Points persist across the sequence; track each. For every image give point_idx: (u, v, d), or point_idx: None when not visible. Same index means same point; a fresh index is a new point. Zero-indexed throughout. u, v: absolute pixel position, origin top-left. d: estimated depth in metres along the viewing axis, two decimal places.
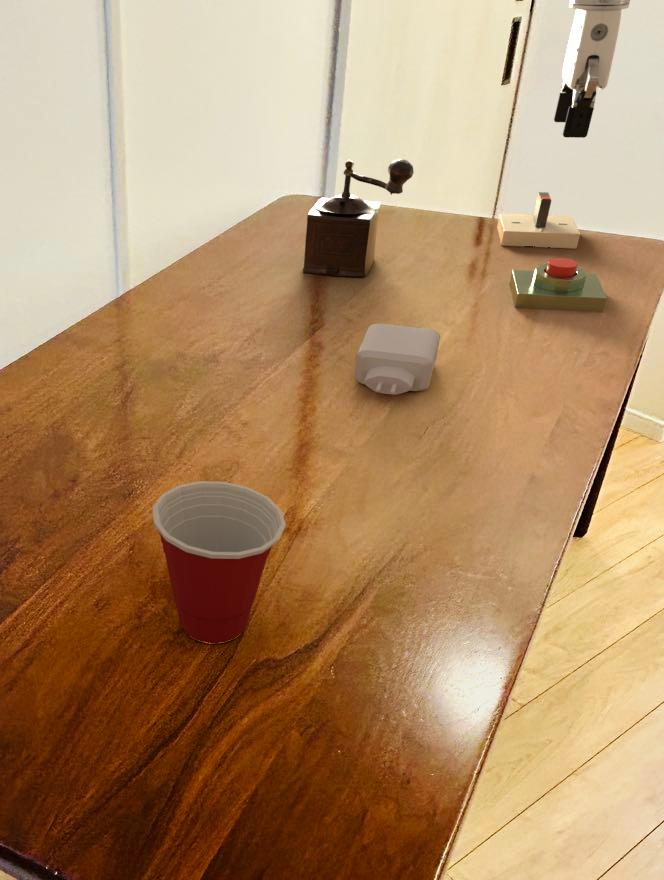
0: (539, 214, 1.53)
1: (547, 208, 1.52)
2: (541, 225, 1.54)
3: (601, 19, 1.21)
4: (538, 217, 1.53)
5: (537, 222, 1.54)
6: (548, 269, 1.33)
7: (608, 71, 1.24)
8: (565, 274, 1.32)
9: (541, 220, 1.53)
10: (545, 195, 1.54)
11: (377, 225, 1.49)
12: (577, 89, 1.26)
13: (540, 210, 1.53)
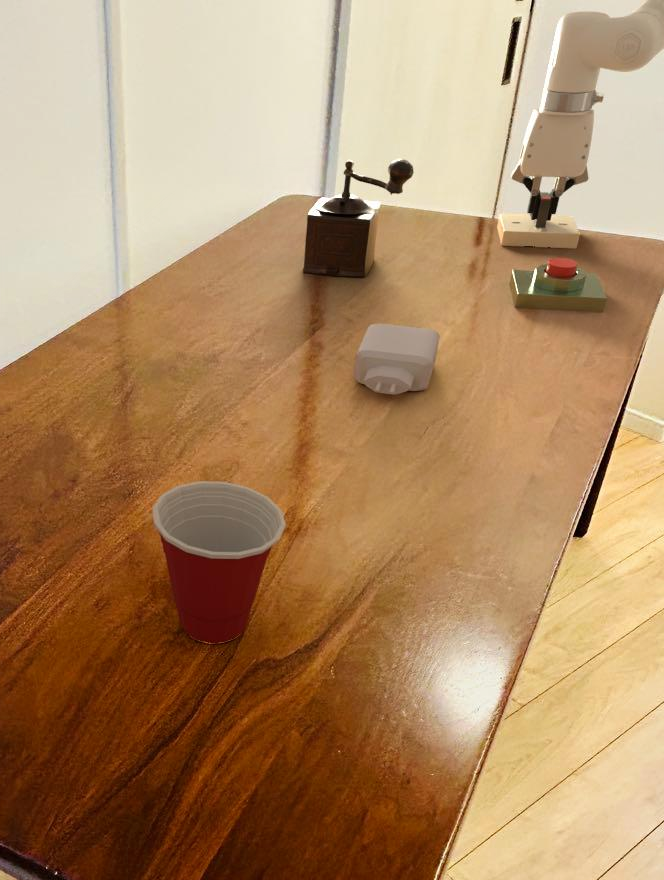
0: (538, 214, 1.53)
1: (547, 208, 1.52)
2: (541, 225, 1.54)
3: None
4: (538, 217, 1.53)
5: (537, 222, 1.54)
6: (548, 269, 1.33)
7: None
8: (565, 274, 1.32)
9: (541, 220, 1.53)
10: (545, 195, 1.54)
11: (377, 225, 1.49)
12: (565, 182, 1.50)
13: (540, 210, 1.53)
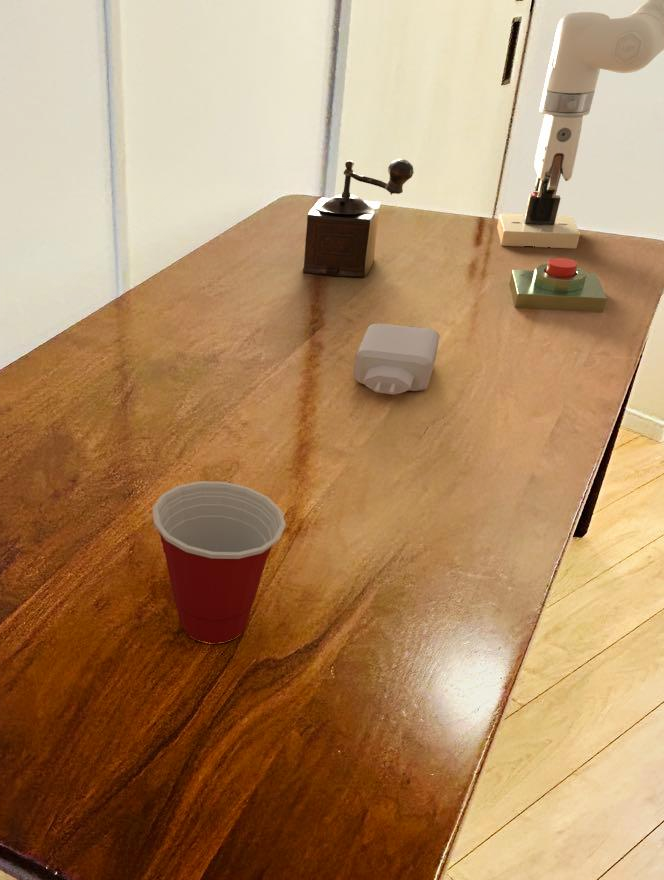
0: (526, 208, 1.56)
1: (528, 204, 1.54)
2: (524, 220, 1.56)
3: (565, 124, 1.42)
4: None
5: None
6: (548, 269, 1.33)
7: (572, 166, 1.45)
8: (565, 274, 1.32)
9: (525, 215, 1.56)
10: None
11: (377, 225, 1.49)
12: (542, 185, 1.50)
13: (527, 205, 1.55)
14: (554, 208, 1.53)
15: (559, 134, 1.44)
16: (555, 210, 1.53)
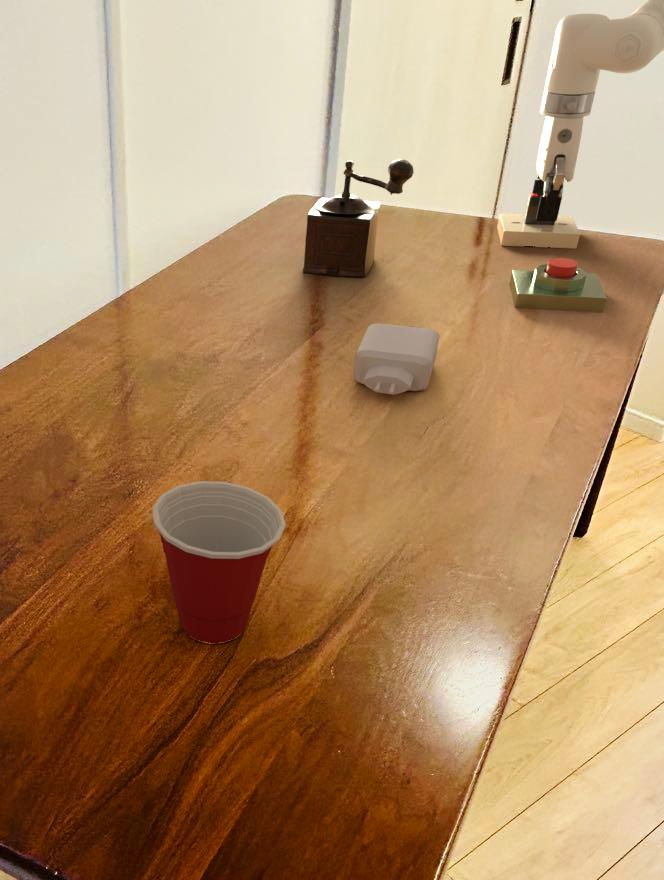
0: (526, 208, 1.56)
1: (528, 204, 1.54)
2: (524, 220, 1.56)
3: (566, 125, 1.43)
4: None
5: None
6: (548, 269, 1.33)
7: (573, 167, 1.45)
8: (565, 274, 1.32)
9: (525, 215, 1.56)
10: None
11: (377, 225, 1.49)
12: (547, 182, 1.47)
13: (527, 205, 1.55)
14: None
15: (560, 135, 1.44)
16: None
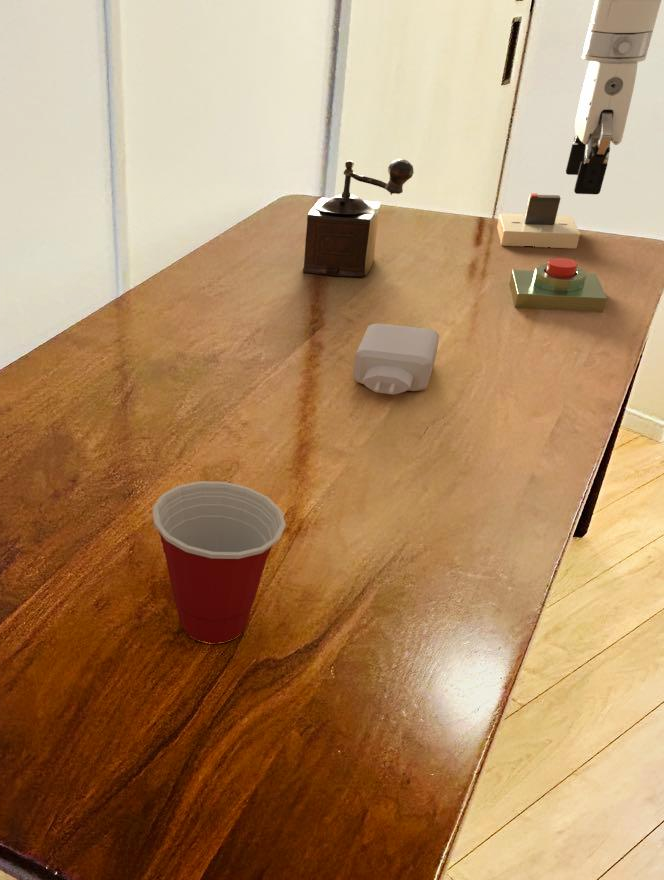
0: (526, 208, 1.56)
1: (528, 204, 1.54)
2: (524, 220, 1.56)
3: (616, 72, 1.14)
4: None
5: None
6: (548, 269, 1.33)
7: (623, 126, 1.17)
8: (565, 274, 1.32)
9: (525, 215, 1.56)
10: (548, 196, 1.53)
11: (377, 225, 1.49)
12: (590, 144, 1.19)
13: (527, 205, 1.55)
14: (554, 208, 1.53)
15: (607, 86, 1.16)
16: (555, 210, 1.53)
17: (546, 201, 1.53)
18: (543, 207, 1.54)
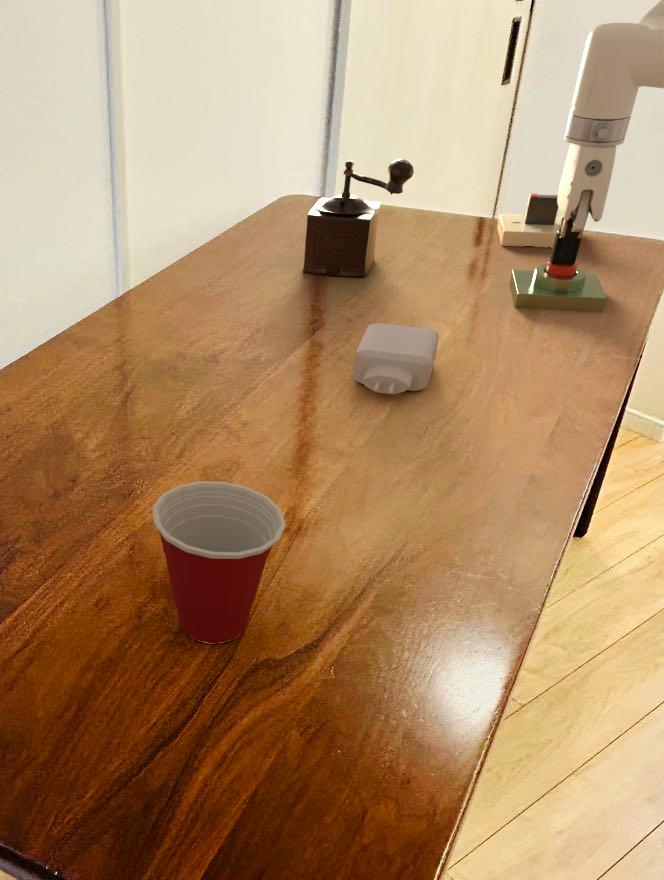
0: (526, 208, 1.56)
1: (528, 204, 1.54)
2: (524, 220, 1.56)
3: (595, 155, 1.20)
4: None
5: None
6: (548, 269, 1.33)
7: (603, 205, 1.23)
8: (565, 274, 1.32)
9: (525, 215, 1.56)
10: (548, 196, 1.53)
11: (377, 225, 1.49)
12: (566, 224, 1.28)
13: (527, 205, 1.55)
14: (554, 208, 1.53)
15: (588, 167, 1.21)
16: (555, 210, 1.53)
17: (546, 201, 1.53)
18: (543, 207, 1.54)
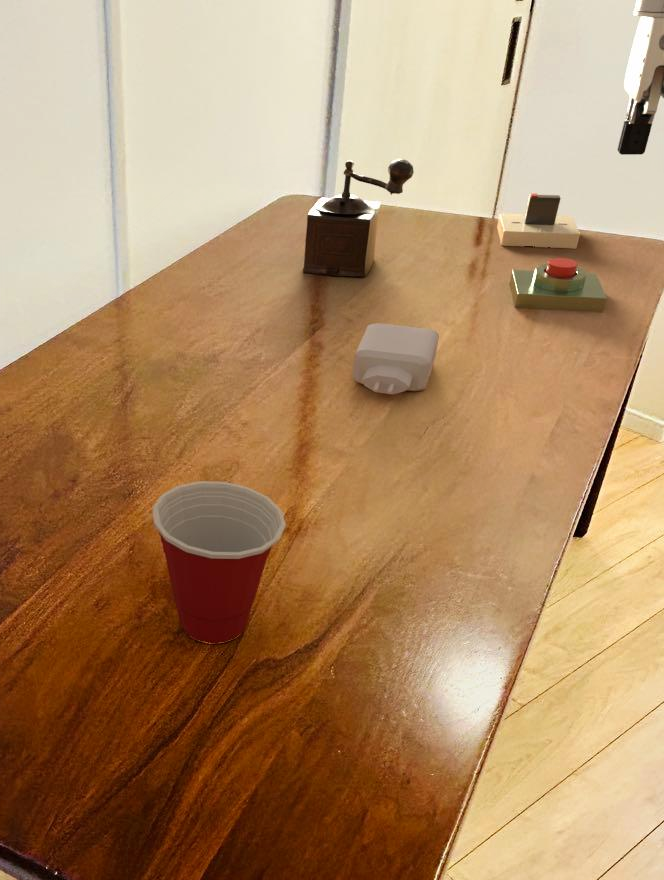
0: (526, 208, 1.56)
1: (528, 204, 1.54)
2: (524, 220, 1.56)
3: None
4: None
5: None
6: (548, 269, 1.33)
7: None
8: (565, 274, 1.32)
9: (525, 215, 1.56)
10: (548, 196, 1.53)
11: (377, 225, 1.49)
12: (636, 108, 1.21)
13: (527, 205, 1.55)
14: (554, 208, 1.53)
15: (662, 41, 1.15)
16: (555, 210, 1.53)
17: (546, 201, 1.53)
18: (543, 207, 1.54)
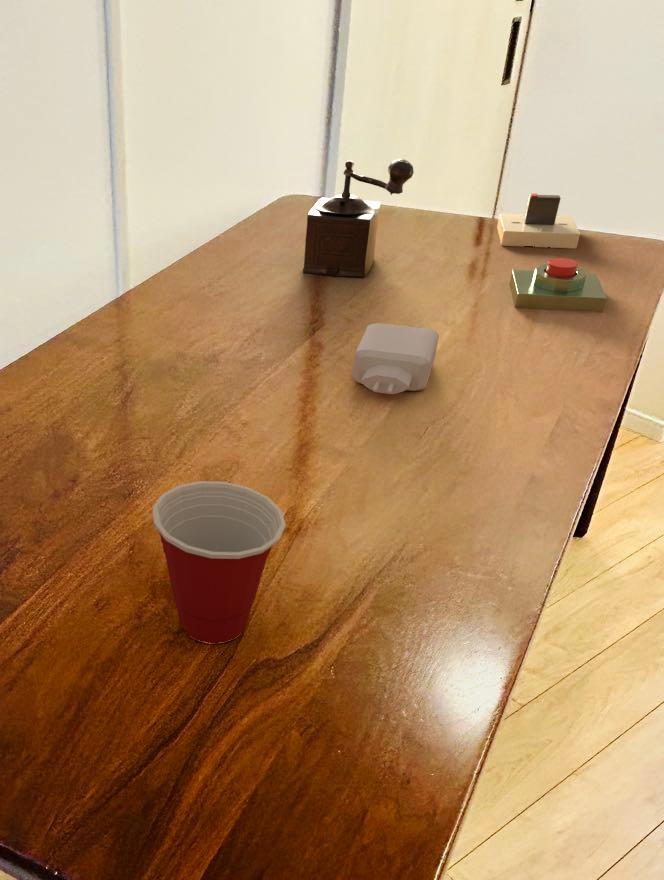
0: (526, 208, 1.56)
1: (528, 204, 1.54)
2: (524, 220, 1.56)
3: None
4: None
5: None
6: (548, 269, 1.33)
7: None
8: (565, 274, 1.32)
9: (525, 215, 1.56)
10: (548, 196, 1.53)
11: (377, 225, 1.49)
12: None
13: (527, 205, 1.55)
14: (554, 208, 1.53)
15: None
16: (555, 210, 1.53)
17: (546, 201, 1.53)
18: (543, 207, 1.54)
